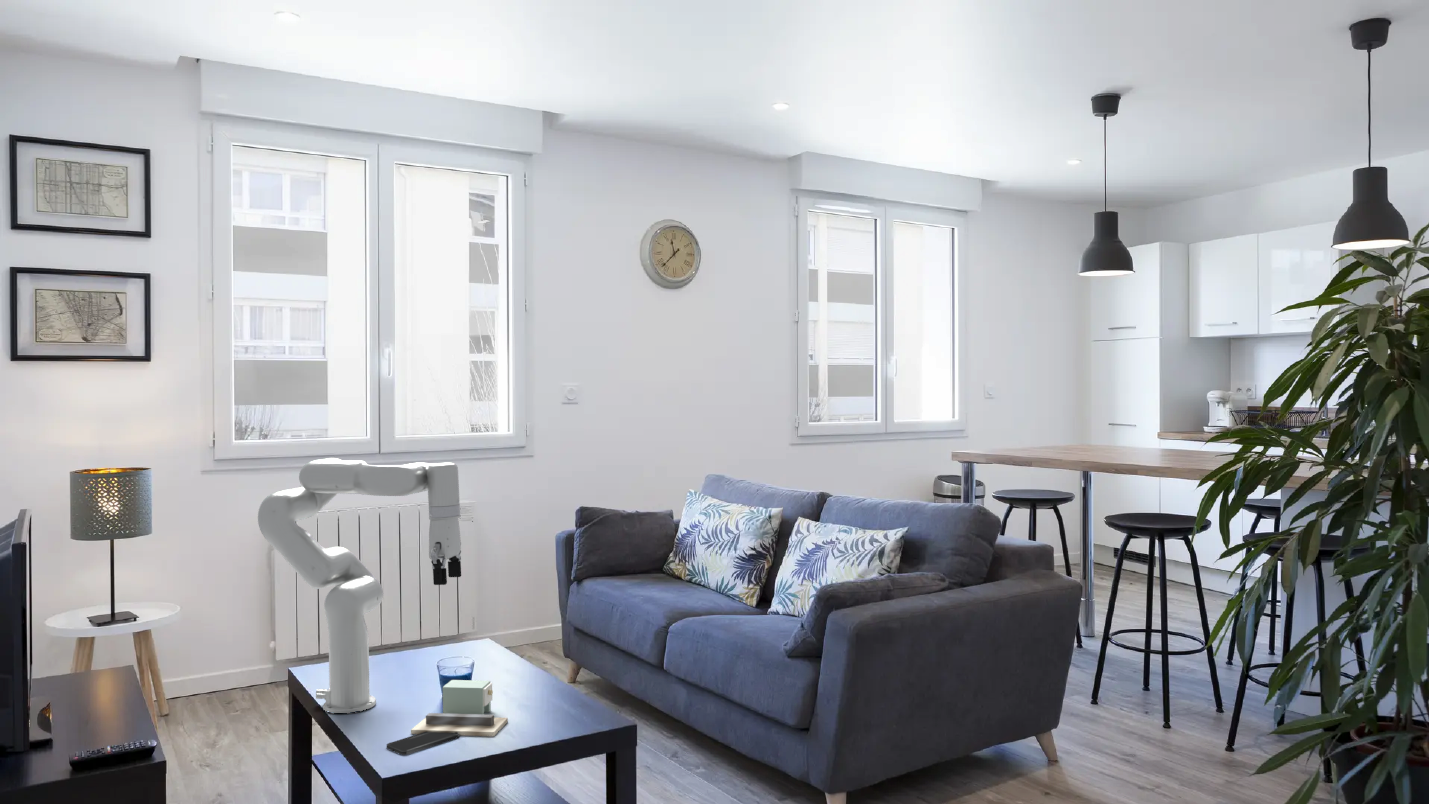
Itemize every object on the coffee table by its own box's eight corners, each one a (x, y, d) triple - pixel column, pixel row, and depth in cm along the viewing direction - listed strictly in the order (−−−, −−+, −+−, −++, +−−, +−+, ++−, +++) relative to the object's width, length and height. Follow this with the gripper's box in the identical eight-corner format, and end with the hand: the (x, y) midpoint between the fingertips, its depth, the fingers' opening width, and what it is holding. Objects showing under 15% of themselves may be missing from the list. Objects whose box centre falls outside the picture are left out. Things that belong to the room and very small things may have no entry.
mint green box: (443, 717, 245) (442, 687, 244) (452, 709, 250) (451, 679, 250) (488, 718, 243) (487, 688, 243) (496, 710, 249) (495, 680, 249)
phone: (461, 733, 231) (403, 752, 219) (461, 738, 231) (403, 757, 219) (441, 726, 236) (384, 744, 224) (441, 731, 236) (384, 749, 224)
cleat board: (410, 734, 233) (410, 721, 233) (428, 719, 243) (427, 707, 243) (493, 736, 231) (493, 723, 231) (507, 721, 241) (507, 709, 241)
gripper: (443, 508, 258) (446, 574, 258) (416, 517, 241) (419, 588, 241) (471, 507, 257) (474, 573, 257) (446, 516, 240) (449, 587, 240)
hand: (447, 580), depth 249 cm, fingers open, 9 cm apart
